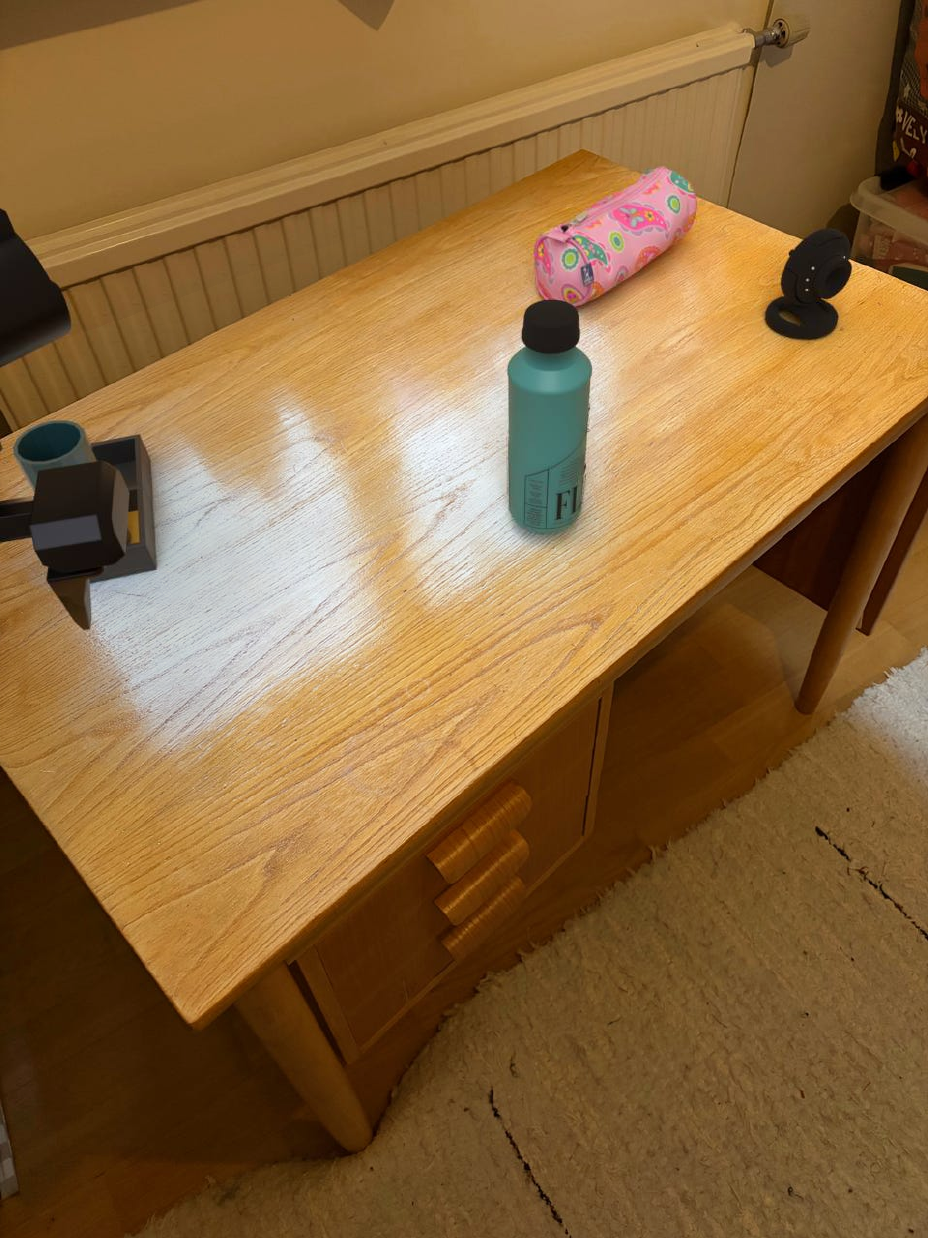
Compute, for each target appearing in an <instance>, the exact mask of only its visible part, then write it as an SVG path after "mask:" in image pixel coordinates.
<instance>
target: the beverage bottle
mask: <svg viewBox="0 0 928 1238" xmlns="http://www.w3.org/2000/svg"><path fill="white" fill-rule="evenodd" d="M520 337H521V338H520V339H521V342H522V344H523V345H524V346H523V347H522V348H520V349H519V350H518V351H517V352H515V353H514V354H513V356H511V358H510V359H509V361H508V364H507V367H506V368H507V369H506V373H507V374H506V375H507V382H508V384H507V385H508V386H507V388H508V389H507V391H508V393H507V395H508V396H507V397H508V399H507V401H508V404H507V405H508V406H507V407H508V409H507V410H508V411H507V412H508V415H507V416H508V436H507V438H506V441H507V451H505V452H506V453H505V454H507V456H506V458H505V459H506V461H505V462H506V463H505V465H506V466H505V468H506V473H505V474H506V491H507V496H508V498H506V501H508V506H506V507H507V509H508V512H509V513H510V515H511V518H512V520H513V521H514V522H515V523H516V524H517V525H518V526H519V527H521V528H523V529H524V530H526V531H529V532H532V533H536V534H556V533H559V532H563V531H565V530H567V529H569V528H570V527H572V526H573V525H574V524H575V523H576V521H577V520H578V518H579V517H580V515H582V511H583V509H584V508H582V506H583V505H584V495H585V490H586V487H585V485H586V480H587V479H586V476H587V473H586V470H587V469H586V468H587V463H586V455H587V440H588V433H589V432H590V429H589V428H588V427H589V426H590V420H589V418H590V416H591V414H590V412H591V403H592V402H591V400H590V398H591V396H590V394H591V393H590V391H591V379H592V376H593V365H592V361H591V360H590V358H589V357H588V355H586V354H585V353H584V351H582V350H581V349H580V348H578V346H577V345H578V344H579V342H580V339H581V329H580V314H579V310H578V308H577V306H576V307H575V306H573V305H572V304H570V303H568V302H565V301H562V300H555V299H549V300H545V299H542V300H538V301H536V302H533V303H532V304H530V305H529V306H528V307H527V308H526V309H525V310H524V312H523V318H522V328H521V335H520Z"/></svg>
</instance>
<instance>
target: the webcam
mask: <svg viewBox="0 0 928 1238" xmlns="http://www.w3.org/2000/svg"><path fill="white" fill-rule="evenodd" d="M850 257H851V242H850V239H849V238H848V237H847V234H845V233H844V232H843V231H841V229H840V230H839V229H834V228H831V227H826V228H820V229H818V230H815V231H813V232H811V233H810V234H809V235H808V236H807V237H805V238H803V239H802V240H801V241H800V242H799V243H798V244H797V245H796V246H795V247H794V249H793V248H792V249H790V250H789V251H788V258H787V259H786V262H785V264H784V266H783V269H782V272H781V277H780V288H781V293H782V296H779V297H777V298H775V299H774V300H772V301H771V302H769V303H768V305H767V307H766V309H765V312H764V313H765V314H764V315H765V316H764V318H765V322H766V324H767V325H768V326H769V327H770V328H771V329H772V331H775V332H776V333H778V334H780V335H781V336H784V337H788V338H791V339H796V340H797V339H798V340H816V339H821V338H824V337H826V336H828V335H830V334H831V333H833V331H835V329H836V328H837V327H838V323H839V313H838V311H837V309H836V308H835V307H834V305H832V304H831V303H830V302H828V301H827V300H829V299H832V298H834V297H836V295H838V294H839V293H841V291H842V290H844V288H845V287H846V285H847V284H848V282H849V280H850V278H851V276H852V271H853V265H852V263H851V262H850ZM785 310H787V311H790V312H791V313H793V314H794V315H795V316H797V317H798V318H799V319H800V320H801V322H802V324H801V323H795V322H791V321H789V320H788V319H786V318H784V317H782V315H781V314H780V313H781V312H783V311H785Z"/></svg>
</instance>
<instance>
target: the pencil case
mask: <svg viewBox="0 0 928 1238" xmlns="http://www.w3.org/2000/svg"><path fill="white" fill-rule="evenodd" d="M697 208H698V199H697V195H696V191H695V188H694V187H693V185H692V184H691V182H690V181H689V180H688V179H687V178H686V177H684V176H683V175H681V174H679V173H678V172H676V171H674V170H670V169H669V168H667V167H666V166H661V165H660V166H658V167H655V168H651V169H649V170H646V171H644V172H643V173H642V174H641V175H640V176H639V177H638V179H637V181H636V183H634V184H632V185H629V186H627V187H625V188H623V189H622V190H620V191H619V192H616V193H613V194H610V195H607V196H606V197H604V198H602V199H600V200H598V201H596V202H595V203H594V204H592V205H591V206H589V207H588V208H586V209H585V210H584V211H582V212H580V213H578V214H577V215H576V216H575V217H574V218H572V219H570V221H567V222H562V223H560V224H558V225H556V226H553V227H551V228H549V229H547V230H545V231H544V232H542V233H540V235H539V236H538V237H537V239H536V240H535V242H534V246H533V247H534V248H533V260H534V261H533V263H534V278H535V285H536V287H537V291H538V292H539V294H540V295H541V297H542V298H543V300H549V299H555V300H562V301H565V302H568V303H570V304H572V305H573V306H575V307H576V308H577V307H579V306H582V305H585V304H586V303H588V302H591V301H593V300H596V299H597V298H599V297H601V296H603V294H605V293H607V292H609V291H610V290H612V289H613V288H614V287H616V286H618V285H619V284H620V283H622V282H624V281H625V280H627V279H629V278H630V277H632V276H633V275H635V274H636V273H637V272H639V271H640V270H642V268H644V267H645V266H646V265H648V264H649V263H651V262H652V261H653V260H654V259H656V258H657V257H659V255H661V254H663V253H664V252H665V251H666V250H667V249H669V248H670V247H671V246H672V245H674V244H675V243H676V242H678V241H681V240H682V239H683V238H684V237H685V236H687V234H688V233H689V232H690V231H691V229H692V227H693V226H694V224H695V220H696V216H697Z"/></svg>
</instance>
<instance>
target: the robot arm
mask: <svg viewBox="0 0 928 1238" xmlns="http://www.w3.org/2000/svg"><path fill="white" fill-rule="evenodd" d="M71 331H72V318H71V314H70V310H69V307H68V304H67V302H66V299H65V296H64V294H63V292H62V290H61V287H60V286H59V285H58V284H57V282H55V281H54V280H52V279H51V278H50V276H49V275H48V272H47V271H46V269H45V268H44V266H43V265H42V263H41V262H40V260H39V258H38V257H37V256H36V255H35V254H34V252H33V250H32V249H31V248H30V247H29V245H28V244H27V243H26V242H25V241H24V240H23V238H22V237H21V236H20V235H19V234H18V233H17V232H16V231H15V228H14V226H13V224H12V222H11V219H10V216H9V215H8V213H7V211H6V210H5V209H3V208H1V207H0V369H1V368H3V367H5V366H7V365H8V364H11V363H13V362H15V361H16V360H19V359H21V358H23V357H25V356H27V355H29V354H31V353H33V352H35V351H36V350H39V349H41V348H43V347H45V346H47V345H49V344H51V343H53V342H55V341H57V340H58V339H61V338H63V337H65V336H67V335H69V334H70V332H71ZM2 451H3V445H2V442H1V441H0V453H1V452H2ZM128 505H129V491H128V489H127V486H126V484H125V482H124V480H123V477H122V475H121V473H120V471H119V470H118V469H116V468H115V467H113V466H112V465H111V464H109V463H107V462H104V461H96V462H89V463H83V464H77V465H70V466H64V467H57V468H51V469H44V470H38V475H37V481H36V487H35V493H34V492H33V495H30V496H24V497H17V498H11V499H5V500H0V544H1V543H8V542H14V541H20V540H25V539H31V542H32V546H33V551H34V553H35V555H36V556H37V558H38V560H39V561H40V563H41V565H42V566H44V567H47V573H46V579H45V580H46V583H47V584H48V585H49V588H51V590H52V591H53V593H54V594H55V596H56V597H57V598H58V600H59V602H60V604H62V606H63V608H64V609H65V610H66V612H67V614H68V615H69V616H70V617H71V619H72V621H73V622H74V623H75V624H76V625H77V626H78V627H80V628H81V629H82V631H89V630H91V628H92V601H91V583H90V580H89V578H94V577H98V576H100V575H101V574H103V573H104V571H105V570H106V566H108V565H114V564H115V563H116V562H118V561H119V560H120V559H121V558H123V557H124V556H125V552H126V536H127V521H128Z"/></svg>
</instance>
